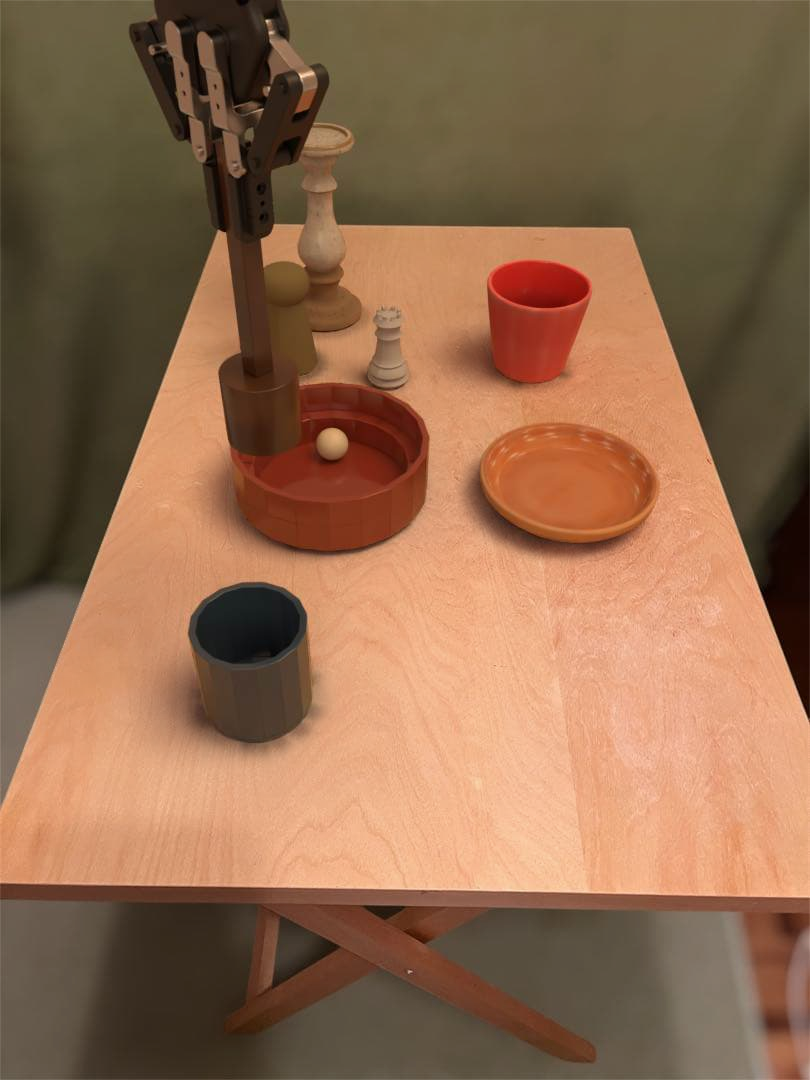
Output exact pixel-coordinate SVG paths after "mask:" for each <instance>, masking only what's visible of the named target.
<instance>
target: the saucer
mask: <svg viewBox="0 0 810 1080" xmlns="http://www.w3.org/2000/svg"><path fill="white" fill-rule="evenodd" d="M480 459H481V460H480V462H479V482H480V486H481V487H480V488H481V490H482V492H483V495H484V496H485V498H486V500H487V501H488V503H489V504H490V505H491V506H492V507H493V509H494V510H495V511H496V512H498V514H500V515H501V516H502V517H503V518H505V520H507V521H508V522H510V523H511V524H513V525H514V526H516V527H518V528H519V529H521V530H523V531H526V532H527V533H529V534H532V535H534V536H537V537H540V538H543V539H546V540H550V541H553V542H562V543H571V544H574V543H575V544H580V543H592V542H599V541H600V542H601V541H605V540H609V539H613V538H615V537H618V536H621V535H624V534H626V533H628V532H630V531H632V530H634V529H636V528H637V527H639V526H640V525H641V524H642V523H643V522H644V521H646V520H647V518H648V517H649V516H650V515H651V513H652V512H653V509H654V507H655V505H656V504H657V502H658V499H659V497H660V489H661V488H660V484H661V483H660V480H659V475H658V473H657V470H656V468H655V467H654V465H653V464H652V462H651V461H650V460H649V458H648V457H647V456H646V455H645V454H644V453H643V452H642V451H641V450H639V448H637V447H636V446H634V445H633V444H632V443H630V442H629V441H627V440H625V439H624V438H622V437H620V436H618V435H616V434H614V433H611V432H609V431H606V430H603V429H601V428H597V427H594V426H590V425H585V424H580V423H575V422H564V421H563V422H562V421H560V422H559V421H550V422H549V421H548V422H538V423H531V424H526V425H522V426H519V427H517V428H514V429H511V430H508V431H507V432H505V433H503V434H501V435H500V436H499V437H497V438H496V439H494V440H493V441H492V442H491V443H490V444H489V445H488V446H487V448H486V449H485V451H484V453H483V454H482V456H481V458H480Z"/></svg>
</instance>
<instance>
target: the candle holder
mask: <svg viewBox="0 0 810 1080" xmlns="http://www.w3.org/2000/svg"><path fill="white" fill-rule="evenodd" d="M354 146H355V136H354V134H353V132H352V131H351V130H350V129H348V128H347V127H345V126H342V125H339V124H335V123H329V122H314V123H313V126H312V128H311V130H310V133H309V135H308V138H307V140H306V143H305V145H304V147H303V150H302V152H301V155H300V157H299V160H298V162H300V163H301V164H302V165H303V167H304V169H305V176H304V178H303V180H302V182H301V184H300V187H301V189H302V190H303V191H305V193H306V217H305V218H306V219H305V221H304V222H305V223H304V225H303V227H302V230H301V233H300V235H299V238H298V242H297V248H296V249H297V254H298V257H299V259H300V261H301V262H302V264H303V265H305V266H304V267H303V268H304V269H305V271H306V272H307V275H308V278H309V283H310V286H309V291H308V294H307V296H306V297H305V301H306V306H307V311H308V315H309V320H310V325H311V330H312V331H317V332H330V331H338V330H342V329H345V328H348V327H350V326H352V325H354V324H355V323H356V322H358V320H359V319H360V318H361V316H362V311H363V307H362V305H363V304H362V302H361V300H360V299H359V298H358V297H357V296H356V295H355V294H354V293H352V292H351V291H350V290H349V289H348V288H346V287H344V286H342V285H339V284H340V282H341V280H342V279H343V277H344V275H345V271H344V269H343V267H342V266H341V264H342V263H343V261H344V260H345V257H346V254H347V245H346V240H345V238H344V235H343V233H342V231H341V229H340V227H339V225H338V223H337V220H336V216H335V211H334V199H333V195H334V191H335V190H336V189H337V188H338V183H337V181H336V179H335V177H334V176H333V174H332V171H333V170H332V169H333V166H334V164H336V163H337V161H338V160H339V156H340V155H342V154H345V153H347V152H349V151H351V149H353V147H354ZM353 294H354V295H353Z"/></svg>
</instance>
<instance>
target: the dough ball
mask: <svg viewBox="0 0 810 1080" xmlns="http://www.w3.org/2000/svg"><path fill="white" fill-rule="evenodd" d="M316 448H317V451H318V452H319V454H320V455H321V456H322V457H323V458H325V459H328V460H337V459H339V458H341V457H343V456H344V455H345V453H346V452H347V449H348V439H347V437H346V435H345V434H344V433H343V432H342V431H341V430H339V429H336V428H328V429H325V430H323V431H322V432H321V433H320V434H319V435H318V437H317V440H316Z"/></svg>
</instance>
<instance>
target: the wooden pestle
mask: <svg viewBox="0 0 810 1080" xmlns="http://www.w3.org/2000/svg"><path fill="white" fill-rule="evenodd" d="M245 143H246V148H249V147H250V146H251V144H252V140H251V139H248V138H246V137H245ZM215 148H216V156H217V164H218V172H219V180H220V188H221V196H222V204H223V212H224V220H225V228H226V232H225V236H226V237H225V238H226V243H227V251H228V259H229V268H230V276H231V277H230V278H231V284H232V291H233V292H232V293H233V300H234V308H235V317H236V324H237V332H238V340H239V349H240V352H238V353H235V354H233V355H231V356H230V357H228V358H226V359H224V361H223V362H221V364H220V366H219V367H218V371H217V375H218V382H219V388H220V389H219V390H220V396H221V403H222V410H223V416H224V423H225V429H226V430H225V431H226V437H227V441H228V443H229V446H230V445H231V446H232V447H233V448H234V449H235V450H237V451H239V452H241V453H243V454H246V455H250V456H256V457H268V456H274V455H279V454H282V453H284V452H287V451H289V450H291V449H292V448H294V447H295V446H296V445H297V444H298V443H299V442H300V440H301V438H302V436H303V424H302V411H301V398H300V386H301V385H300V376H299V372H298V365H297V363H296V361H295V360H294V359H293V358H292V357H290V356H289V355H287V354H285V353H283V352H280V351H276V350H272V349H271V338H270V328H269V318H268V308H267V297H266V287H265V277H264V267H265V266H264V258H263V256H264V255H263V248H262V239H259V240H257V241H254V242H252V243H249V244H246V243H244V242H242V241H240V240H238V239H236V238H235V236H234V230H233V222H232V213H231V205H230V196H229V188H228V179H227V175H228V174H231V173H230V172H229V170H228V167H227V161H226V154H225V147H224V139H223V138H221V139H218V140H215Z"/></svg>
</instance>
